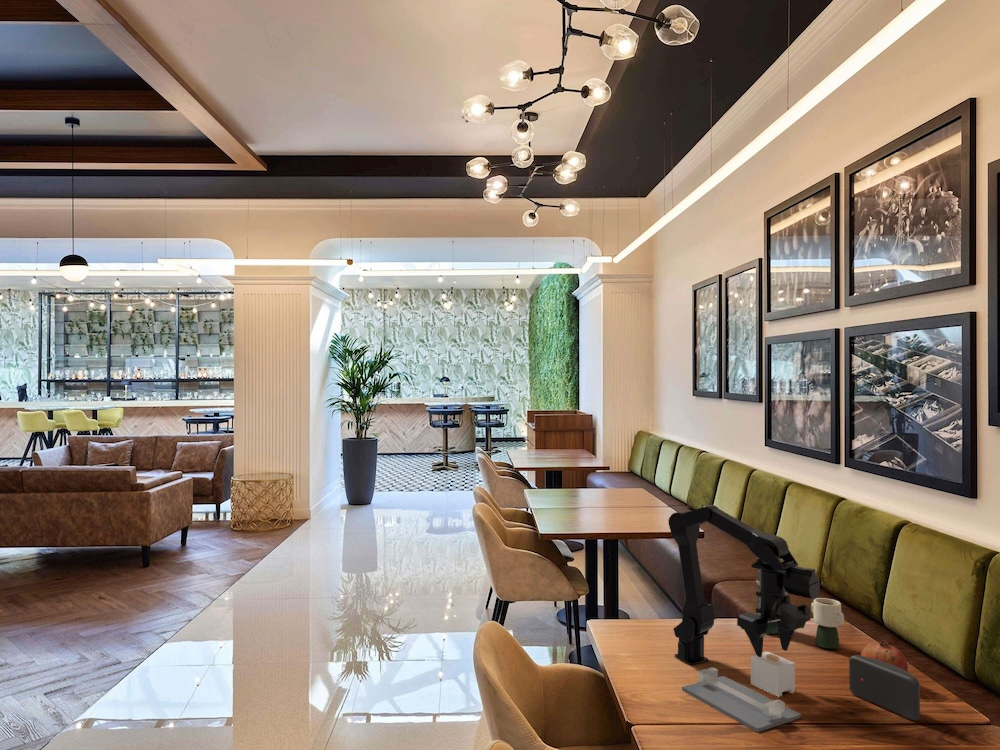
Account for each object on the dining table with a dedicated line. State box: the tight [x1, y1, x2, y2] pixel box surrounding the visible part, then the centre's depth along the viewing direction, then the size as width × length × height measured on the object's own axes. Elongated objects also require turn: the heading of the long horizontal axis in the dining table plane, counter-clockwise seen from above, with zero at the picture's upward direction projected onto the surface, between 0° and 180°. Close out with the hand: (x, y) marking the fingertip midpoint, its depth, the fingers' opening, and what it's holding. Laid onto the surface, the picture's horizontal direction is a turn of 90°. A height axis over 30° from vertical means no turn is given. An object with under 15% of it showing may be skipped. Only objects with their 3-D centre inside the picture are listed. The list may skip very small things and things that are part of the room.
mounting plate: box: [681, 675, 802, 733], centre depth 148 cm, size 14×22×1 cm, turn 28°
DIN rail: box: [697, 667, 786, 721], centre depth 149 cm, size 5×21×3 cm, turn 28°
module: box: [750, 651, 796, 698], centre depth 157 cm, size 6×8×8 cm
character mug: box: [810, 597, 845, 650], centre depth 184 cm, size 11×7×13 cm, turn 21°
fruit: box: [860, 639, 909, 672], centre depth 162 cm, size 11×10×10 cm
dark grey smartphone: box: [848, 654, 921, 722], centre depth 149 cm, size 16×5×9 cm, turn 27°
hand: (772, 653), depth 157 cm, fingers open, 9 cm apart
